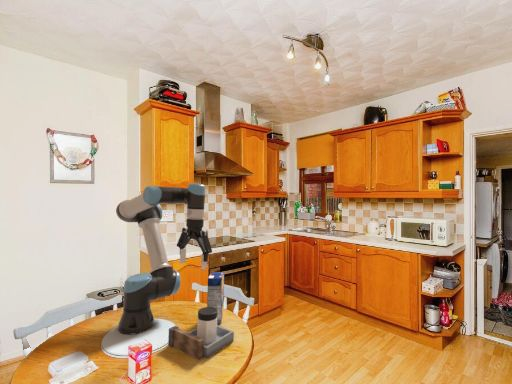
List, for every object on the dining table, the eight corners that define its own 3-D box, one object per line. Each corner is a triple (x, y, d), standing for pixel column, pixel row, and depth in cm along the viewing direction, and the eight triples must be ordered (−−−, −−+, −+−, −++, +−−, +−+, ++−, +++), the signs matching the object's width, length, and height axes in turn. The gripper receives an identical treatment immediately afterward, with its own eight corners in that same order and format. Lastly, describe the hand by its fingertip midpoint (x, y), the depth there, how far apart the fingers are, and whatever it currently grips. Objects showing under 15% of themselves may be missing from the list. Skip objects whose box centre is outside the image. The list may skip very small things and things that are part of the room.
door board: (168, 345, 110) (168, 328, 110) (174, 342, 112) (175, 325, 113) (197, 361, 100) (198, 342, 100) (204, 357, 102) (204, 338, 103)
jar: (200, 347, 107) (201, 316, 107) (193, 337, 113) (194, 309, 114) (221, 340, 112) (221, 311, 112) (212, 332, 118) (213, 305, 119)
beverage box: (206, 324, 129) (207, 278, 130) (210, 314, 140) (211, 272, 141) (220, 324, 130) (222, 278, 130) (223, 314, 140) (224, 272, 141)
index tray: (180, 345, 110) (180, 335, 110) (208, 330, 123) (208, 321, 123) (206, 358, 102) (207, 348, 102) (233, 340, 115) (233, 331, 115)
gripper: (170, 216, 124) (168, 262, 124) (209, 221, 110) (206, 273, 110) (183, 215, 130) (180, 259, 130) (221, 220, 116) (219, 269, 116)
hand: (192, 265), depth 120 cm, fingers open, 13 cm apart
